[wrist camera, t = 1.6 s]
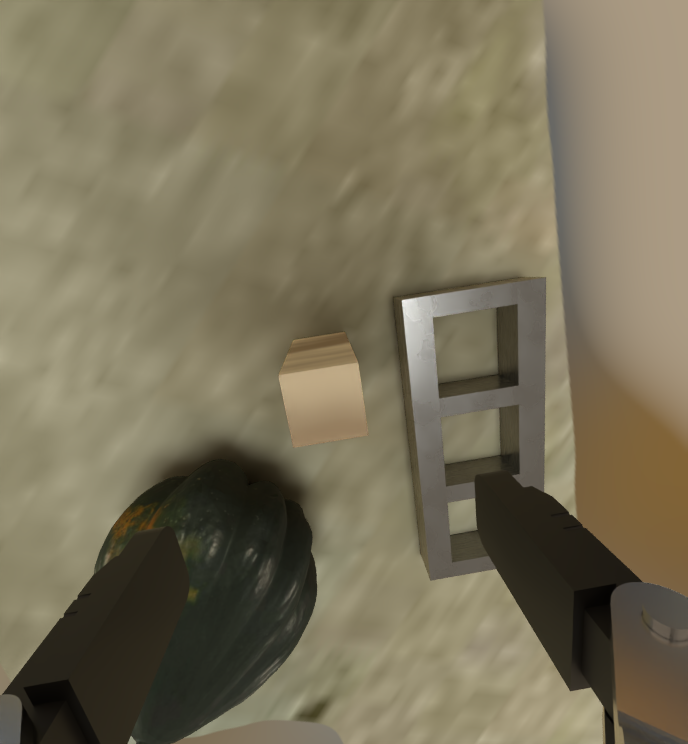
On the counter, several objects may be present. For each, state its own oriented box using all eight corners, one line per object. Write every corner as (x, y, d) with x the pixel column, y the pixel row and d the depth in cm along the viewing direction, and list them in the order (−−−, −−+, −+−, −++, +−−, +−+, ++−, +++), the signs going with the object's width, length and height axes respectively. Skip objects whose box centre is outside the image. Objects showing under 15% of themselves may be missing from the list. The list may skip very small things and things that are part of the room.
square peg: (293, 339, 27) (278, 375, 17) (344, 331, 27) (358, 362, 17) (302, 388, 28) (293, 447, 18) (352, 380, 28) (368, 435, 18)
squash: (299, 433, 23) (37, 678, 13) (378, 588, 28) (230, 860, 17) (199, 429, 32) (2, 567, 22) (270, 545, 37) (133, 704, 27)
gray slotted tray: (392, 297, 26) (401, 300, 24) (521, 277, 27) (546, 277, 24) (420, 553, 33) (430, 580, 30) (524, 535, 33) (543, 560, 30)
